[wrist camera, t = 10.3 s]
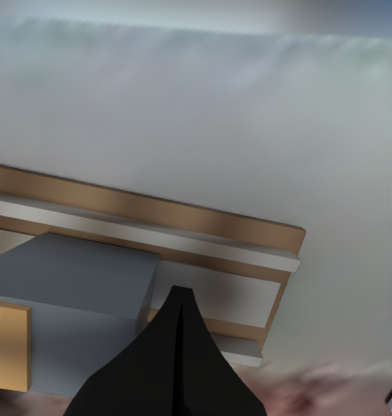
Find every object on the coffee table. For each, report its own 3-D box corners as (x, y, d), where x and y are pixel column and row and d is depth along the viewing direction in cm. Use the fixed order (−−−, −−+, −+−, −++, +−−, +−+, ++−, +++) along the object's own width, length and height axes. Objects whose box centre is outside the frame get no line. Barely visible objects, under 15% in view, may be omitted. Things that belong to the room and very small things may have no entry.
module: (160, 254, 12) (134, 324, 7) (149, 313, 13) (120, 410, 8) (44, 232, 12) (-70, 288, 7) (43, 295, 13) (-56, 384, 8)
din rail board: (301, 227, 12) (342, 254, 9) (253, 358, 15) (269, 418, 12) (-77, 149, 11) (-198, 145, 8) (-56, 305, 14) (-140, 354, 11)
